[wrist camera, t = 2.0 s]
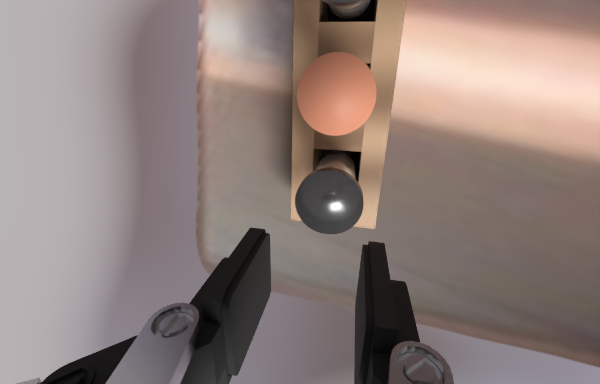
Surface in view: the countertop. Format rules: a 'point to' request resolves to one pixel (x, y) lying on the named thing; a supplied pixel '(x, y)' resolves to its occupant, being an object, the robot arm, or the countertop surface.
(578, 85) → the countertop surface
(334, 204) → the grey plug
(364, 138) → the socket strip
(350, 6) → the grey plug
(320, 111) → the rust plug
